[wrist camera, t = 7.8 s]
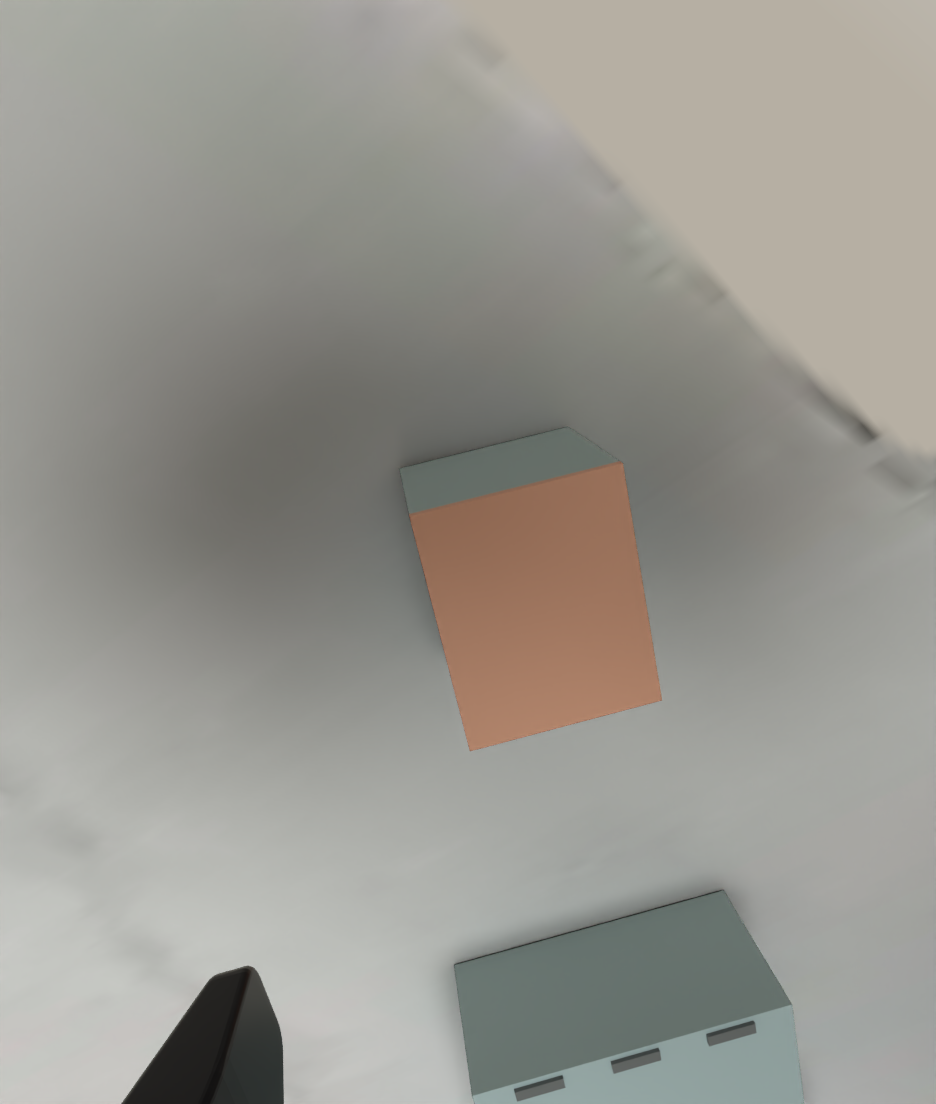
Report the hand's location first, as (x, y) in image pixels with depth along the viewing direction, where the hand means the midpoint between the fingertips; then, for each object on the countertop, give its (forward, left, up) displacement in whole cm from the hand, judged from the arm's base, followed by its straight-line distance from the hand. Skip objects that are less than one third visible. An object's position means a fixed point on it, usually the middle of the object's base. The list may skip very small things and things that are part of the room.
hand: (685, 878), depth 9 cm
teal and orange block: (0, 0, -12) cm, 12 cm away
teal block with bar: (0, +17, -12) cm, 21 cm away
